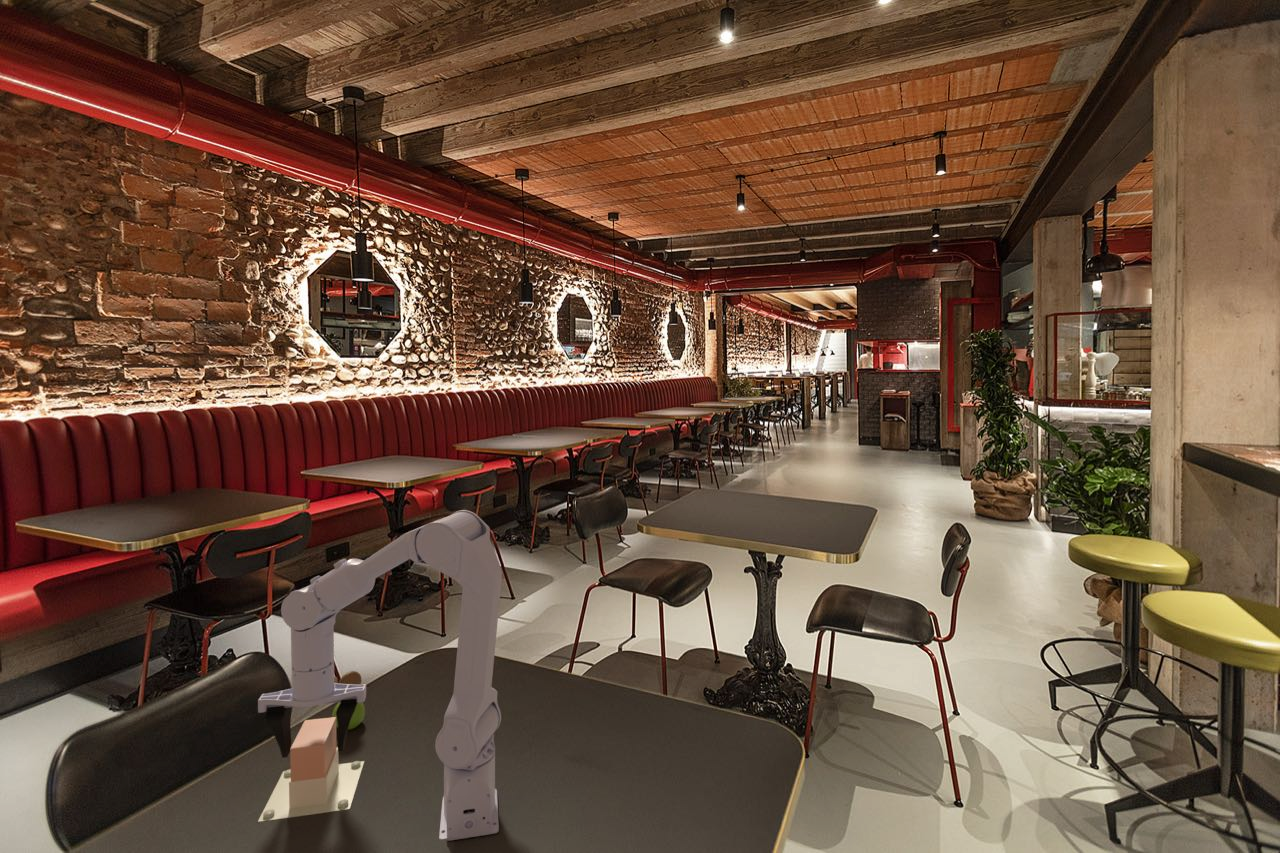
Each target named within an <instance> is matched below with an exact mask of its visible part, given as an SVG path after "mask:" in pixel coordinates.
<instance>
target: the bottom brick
mask: <svg viewBox="0 0 1280 853" xmlns="http://www.w3.org/2000/svg"><path fill="white" fill-rule="evenodd" d="M339 764H340V763H339V751H338V746H337V747H336V750H335V752H334V755H333V758H332V760H331V763H330V765H329V768H328V770H327V773H326V775H325V778H317V779H310V780H302V781H294V782H291V779H290V781H289V809H291V808H298V807H305V806H312V805H320V804H327V802H328V799H329V796H330V793H331V791H332V788H333V785H334V783H335V780H336V777H337V774H338V772H339Z"/></svg>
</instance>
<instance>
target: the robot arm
mask: <svg viewBox="0 0 1280 853" xmlns="http://www.w3.org/2000/svg"><path fill="white" fill-rule="evenodd" d="M490 529H491V527H490V526H489V525H488V524H486V522H485V521H484V520H483V519H482V518H481V517H479V515H478V514H476V513H475V512H473V511H470V510H467V509H462V510H457V511H454V512H453V513H451V514H450V515H448V516H445V517H442V518H439V519H437V520H434V521H432V522H429V523H427V524H424V525H422V526H420V527H417V528H415V529H413V530H412V529H411V530H409V531H408V532H405V533H403V534H401V535H400V536H399V537H397V538H396V539H395V540H393V541H391V542H389V543H388V544H387V545H385V546H384V547H382V548H381V549H379V550H378V551H376V552H374V553H373V554H372V555H370V556H369V557H367V558H366V559H364V560H363V559H360V558H349V559H347V558H343V559H340V560H338V561H337V562H335V563H334V564H333V567H334V568H333V569H331V570H330V571H328V572H326V573H325V574H323V575H322V576H321V575H317V576H314V577H313V578H311V579H310V580H309V582H310V584H309V585H307V586H305V587H304V586H303V587H302V588H300V589H295V590H293V591H291V592H290V593H289V594H288V595H287V596H286V597H285V598H284V599H283V601H282V603H281V608H280V613H281V617H282V619H283V621H284V623H285V624H286V625H287V626H288V627H289V628H290V654H291V655H290V656H291V657H290V658H291V662H290V663H291V688H288V689H284V690H279V691H274V692H268V693H262V694H261V695H260V697H259V698H258V699H257V713H258V714H259V713H260V714H261V713H265V712H266V713H265V714H266V715H265V717H264V719H263V720H264V724H265V725H266V727H267V728H268V729H269V730H270V732H271V733H272V734H273V736H274V737H275V740H276V742H277V745H278V747H279V750H280V754H281V758H282V759H283V758H288V756H290V748H291V746H292V733H291V731H292V730H291V724H292V723H291V721H292V708H297V707H298V708H302V707H303V708H309V707H314V706H319V705H326V704H336V703H337V704H338V703H339V702H340V705H339V707H338V709H337V711H336V716H337V722H338V728H337V747H338V752H341V751H344V749H345V746H346V742H347V735H348V731H349V730H348V727H349V723H350V720H351V718H352V715H353V713H354V711H355V709H356V706H357V703H359V702H362V703H364V702H365V701H366V697H367V684H366V683H365V684H364V683H363V684H362V683H361V685H353V684H338V682H337V683H334V676H335V647H334V646H335V644H334V643H335V642H334V641H335V639H334V638H335V637H334V636H335V635H334V634H335V633H334V629H335V628H334V626H335V624H336V616H337V614H338V613H339V612H340V611H341V610H342V609H344V608H345V607H348V606H349V605H351V604H352V603H354V602H356V601H357V600H359V599H361V598H362V597H364V596H365V595H368V594H369V593H371V591H373V589H374V587H375V582H376V579H377V578H379V577H380V576H382V575H384V574H385V573H387V572H389V571H391V570H393V569H394V568H396V567H398V566H400V565H402V564H403V563H405V562H407V561H409V560H411V561H412V562H414V563H417V564H418V563H420V562H422V561H423V562H424V563H426V564H427V566H428V565H429V566H430V567H431V568H434V569H435V570H437V571H439V572H440V573H441V574H444V575H445V576H448V577H449V578H450V579H452V580H454V581H456V582H457V583H458V585H460V586H461V589H462V593H461V606H460V615H459V616H460V617H459V624H458V625H459V628H458V637H457V638H458V639H457V649H456V662H455V672H454V682H453V683H454V684H453V685H454V686H453V694H452V696H451V699H450V702H449V703H448V706H447V707H446V708H447V709H446V711H445V713H444V716H443V724H442V727H441V729H440V731H439V732H438V734H437V735H436V737H435V741H434V742H435V743H434V747H435V752H436V755H437V757H438V758H439V760H440V761H441V762H442V763H443V797H442V802H441V811H440V822H439V825H440V826H439V831H438V832H439V833H438V835H439V836H438V839H439V840H445V841H446V842H449V841H455V840H463V839H469V838H473V837H480V836H487V835H494V834H497V833H498V832H499V828H500V826H499V809H498V808H499V807H498V806H499V804H498V790H497V788H496V761H495V760H496V745H495V741H494V740H495V739H494V738H495V736H494V733H495V732H496V731H497V730H498V729H499V727H500V725H501V721H502V713H501V712H502V711H501V709H500V706H499V704H498V691H497V690H496V689H495V688H494V687H493V686H492V683H493V675H494V674H493V673H494V663H495V652H496V643H497V642H496V641H497V630H498V621H499V613H500V612H499V609H500V600H501V590H502V589H501V588H502V580H503V579H502V577H503V571H502V567H501V564H500V562H499V559H498V557H497V554H496V551H495V549H494V547H493V544H492V542H491V537H490V536H491V535H490V534H491V533H490V531H491V530H490Z"/></svg>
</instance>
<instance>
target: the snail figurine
mask: <svg viewBox="0 0 1280 853" xmlns="http://www.w3.org/2000/svg"><path fill="white" fill-rule="evenodd" d="M334 683H337V684H353V685H362V676H361V674H360V673H359V672H358V671H354V670H351V671H348V672H346V673H345V674H343V676H342V677H341V678H340V679H339V680H338V677H337V676H335V675H334ZM339 705H340V702H339V703H337V704H336V705H335V706H334V708H333V711H332V714H331V717H336V729H338V722H337V716H336V711H337V709H338V707H339ZM365 715H366V707H365V705H364V702H359V703H357V706H356V709H355V711H354V713H353V715H352V718H351V720H350V723H349V727H348V731H349V730H353V729H355V728H357V727H358V726H359V725H360V724H361V723H362V722H363V720H364V718H365Z"/></svg>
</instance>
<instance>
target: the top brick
mask: <svg viewBox="0 0 1280 853" xmlns="http://www.w3.org/2000/svg"><path fill="white" fill-rule="evenodd" d="M336 747H338V743H337V727H336V717H332V716H331V717H323V718H313V719H305V720H304V721H303V723H302V726H301V727H300V729H299V731H298V733H297V735H296V737H295V739H294V740H293V743H291V748H290V753H289V756H290V757H289V758H290V769H291V782H294V781H302V780H310V779H317V778H325V775H326V773H327V770H328V768H329V765H330V763H331V760H332V758H333V755H334V752H335V750H336Z"/></svg>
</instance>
